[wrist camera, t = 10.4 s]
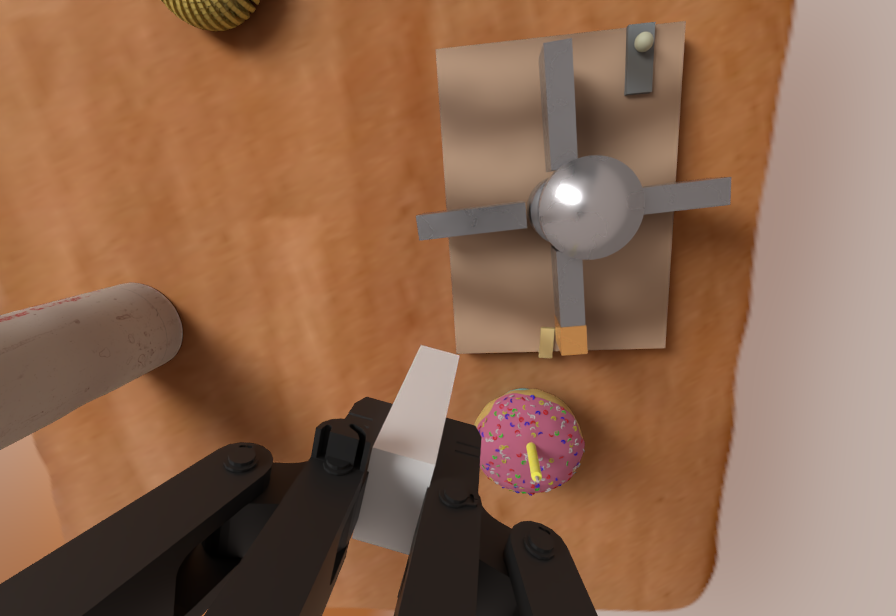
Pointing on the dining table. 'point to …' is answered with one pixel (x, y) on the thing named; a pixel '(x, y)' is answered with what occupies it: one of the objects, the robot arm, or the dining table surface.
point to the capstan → (575, 201)
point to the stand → (523, 167)
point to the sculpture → (212, 12)
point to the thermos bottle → (79, 352)
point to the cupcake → (529, 441)
